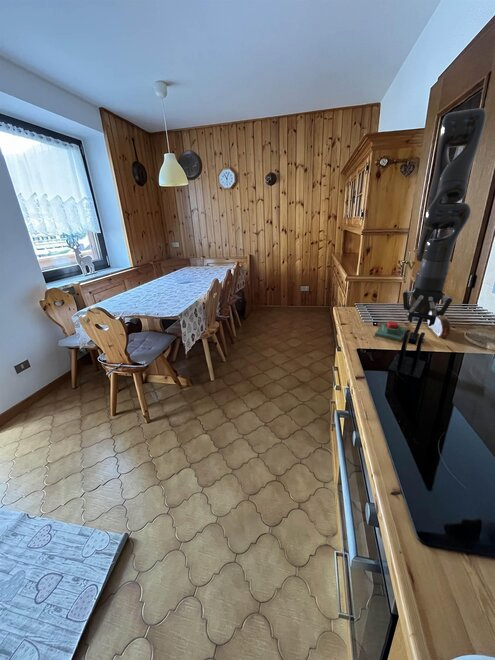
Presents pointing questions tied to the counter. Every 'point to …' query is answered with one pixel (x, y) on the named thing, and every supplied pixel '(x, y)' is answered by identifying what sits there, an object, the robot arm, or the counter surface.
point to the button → (392, 325)
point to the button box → (391, 332)
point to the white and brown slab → (440, 326)
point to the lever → (417, 327)
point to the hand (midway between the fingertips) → (420, 323)
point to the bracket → (409, 358)
